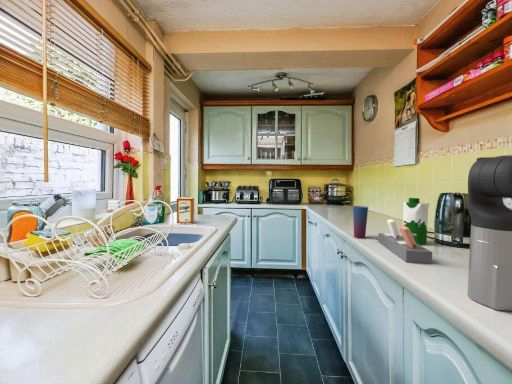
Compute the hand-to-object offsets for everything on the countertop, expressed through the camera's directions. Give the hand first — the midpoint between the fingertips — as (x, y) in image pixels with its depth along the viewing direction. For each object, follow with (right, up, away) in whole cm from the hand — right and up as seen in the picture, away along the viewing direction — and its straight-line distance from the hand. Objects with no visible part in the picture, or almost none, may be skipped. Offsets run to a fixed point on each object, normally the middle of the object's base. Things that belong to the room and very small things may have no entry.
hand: (478, 161), depth 78 cm
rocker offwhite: (-12, -28, +24) cm, 39 cm away
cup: (-19, -32, +43) cm, 57 cm away
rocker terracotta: (-14, -29, +11) cm, 34 cm away
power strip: (-12, -33, +23) cm, 42 cm away
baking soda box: (-114, -29, +79) cm, 142 cm away
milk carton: (+1, -33, +34) cm, 47 cm away
